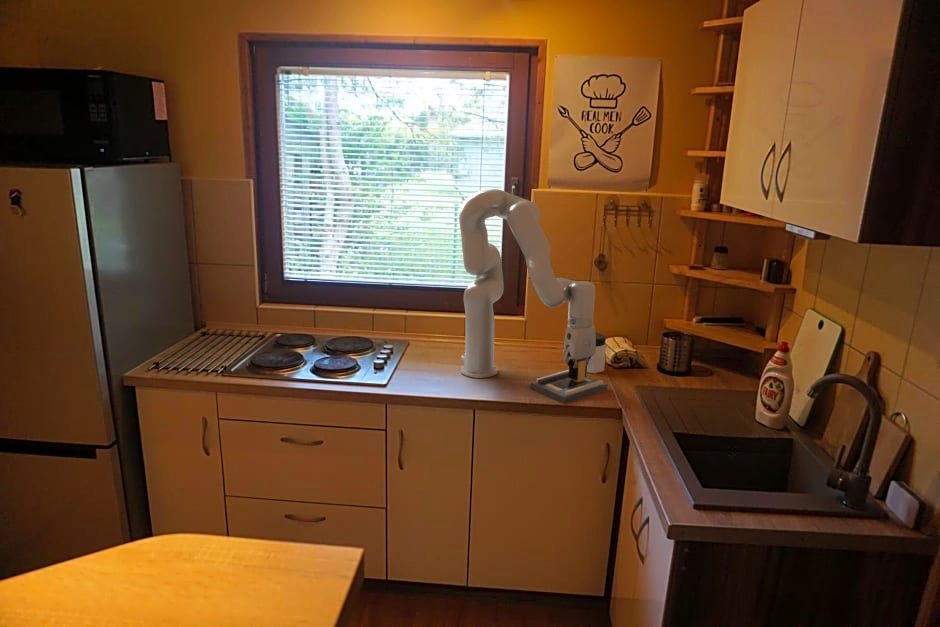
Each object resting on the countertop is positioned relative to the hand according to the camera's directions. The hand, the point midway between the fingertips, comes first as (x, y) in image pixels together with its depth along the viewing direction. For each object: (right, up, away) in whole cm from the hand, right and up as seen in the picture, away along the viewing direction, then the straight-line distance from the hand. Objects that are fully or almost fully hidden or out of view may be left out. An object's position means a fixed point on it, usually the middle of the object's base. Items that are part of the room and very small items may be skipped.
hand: (577, 376), depth 199 cm
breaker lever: (0, -1, 0) cm, 1 cm away
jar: (+8, +1, +17) cm, 18 cm away
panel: (-3, -4, -1) cm, 5 cm away
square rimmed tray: (-3, -2, -2) cm, 4 cm away
